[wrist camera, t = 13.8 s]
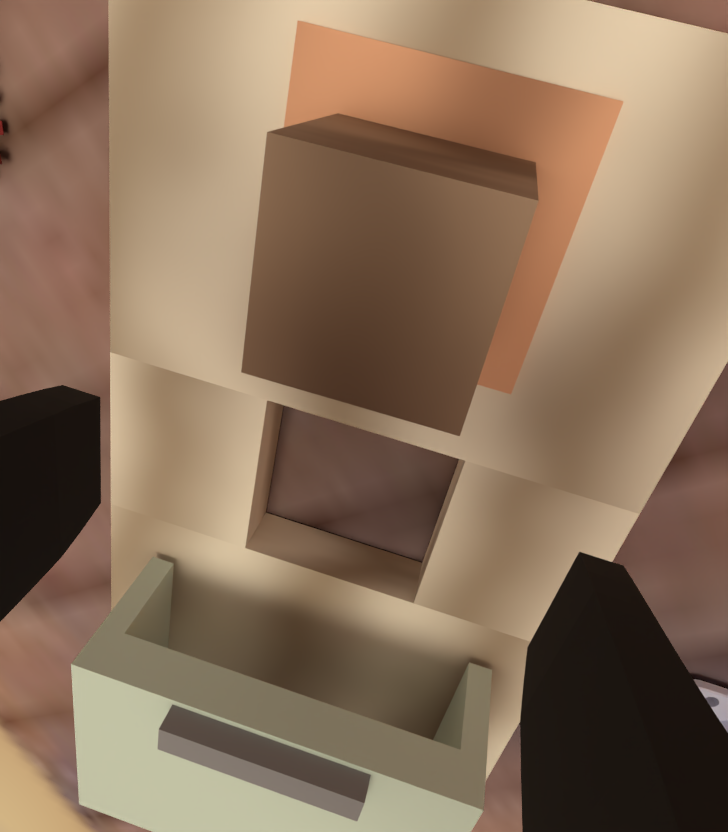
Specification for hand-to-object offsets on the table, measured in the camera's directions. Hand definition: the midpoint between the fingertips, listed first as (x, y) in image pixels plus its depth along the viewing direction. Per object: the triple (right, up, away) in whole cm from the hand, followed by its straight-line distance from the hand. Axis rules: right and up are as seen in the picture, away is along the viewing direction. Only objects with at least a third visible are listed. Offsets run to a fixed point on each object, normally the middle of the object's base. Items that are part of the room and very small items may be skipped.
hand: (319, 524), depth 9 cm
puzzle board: (+1, 0, +12) cm, 12 cm away
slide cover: (-2, -9, +15) cm, 17 cm away
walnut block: (+2, +6, +6) cm, 8 cm away
